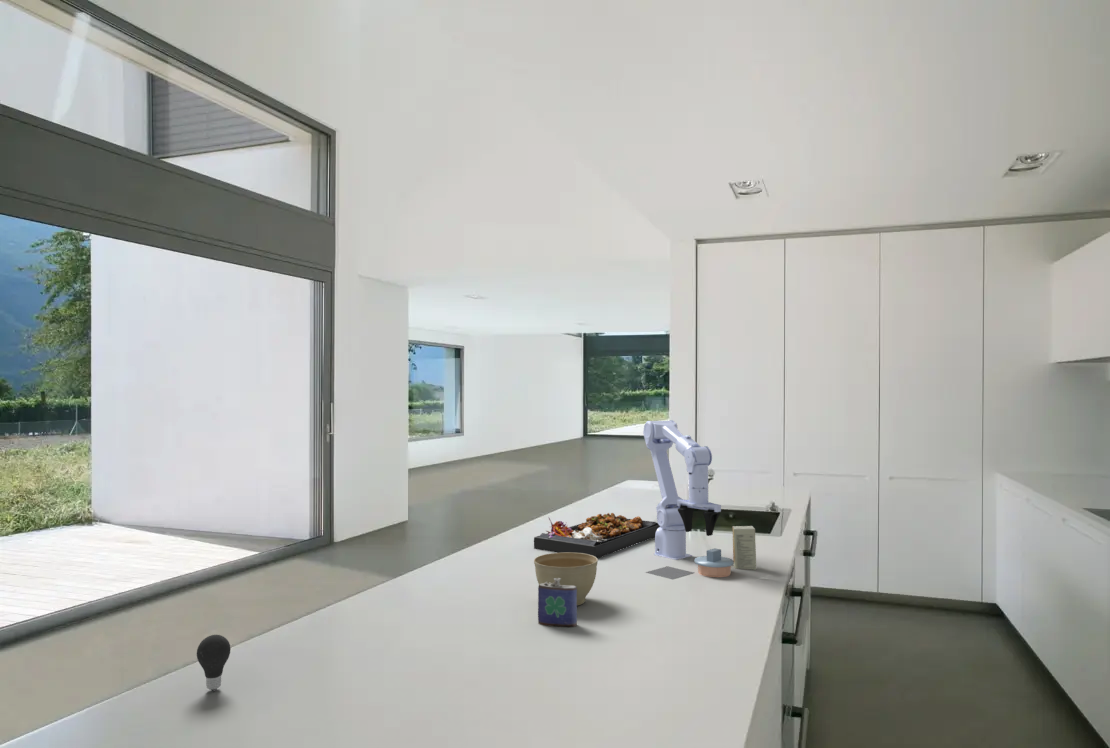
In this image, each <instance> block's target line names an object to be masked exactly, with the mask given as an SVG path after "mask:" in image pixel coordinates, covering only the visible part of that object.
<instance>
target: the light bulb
mask: <svg viewBox="0 0 1110 748" xmlns="http://www.w3.org/2000/svg"><path fill="white" fill-rule="evenodd" d="M230 654H231V644H230V641H229V640H228V639H227V638H226V637H225V636H223V635H220V634H212V635H211V634H210V635H208V636H206V637H205V638H203V639H202V640H201V642H200V643H199V644H198V647H197V649H196V659H197V661H198V663H199V665H200V666H201V668H202V669H203V672H204V676H205V678H206V681H205V685H206V689H208V690H210V691H211V692H215V691H217V690H218V689H219V688H220V687H221V686H222V675H223V672H224V667H225V665H226V663H227V662H228V660H229V658H230Z"/></svg>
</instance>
